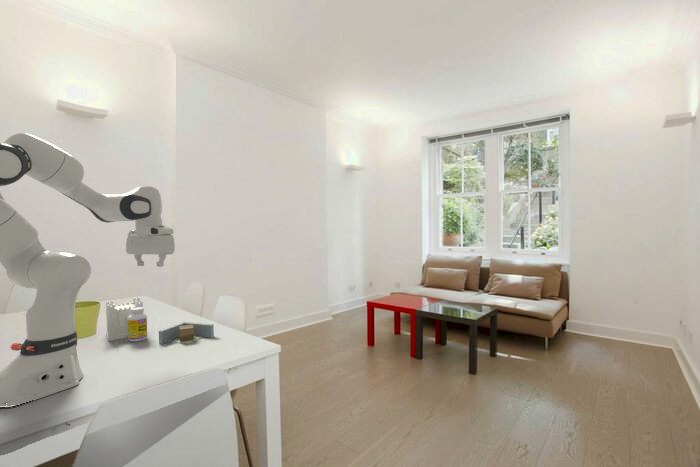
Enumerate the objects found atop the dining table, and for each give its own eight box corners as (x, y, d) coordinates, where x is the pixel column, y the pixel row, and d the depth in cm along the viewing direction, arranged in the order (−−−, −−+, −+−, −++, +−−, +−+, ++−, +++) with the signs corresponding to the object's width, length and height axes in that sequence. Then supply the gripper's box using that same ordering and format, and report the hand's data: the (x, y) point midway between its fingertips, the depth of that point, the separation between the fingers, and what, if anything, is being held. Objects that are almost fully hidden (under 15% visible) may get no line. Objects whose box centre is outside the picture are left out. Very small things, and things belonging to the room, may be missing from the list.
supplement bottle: (138, 342, 142) (137, 310, 142) (124, 341, 144) (123, 310, 143) (151, 337, 149) (150, 306, 149) (137, 336, 150) (136, 306, 150)
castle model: (107, 341, 145) (106, 305, 145) (106, 332, 157) (105, 299, 157) (144, 334, 153) (143, 301, 152) (140, 326, 165) (139, 295, 164)
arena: (189, 347, 136) (189, 334, 136) (158, 343, 141) (158, 330, 141) (213, 336, 149) (213, 324, 149) (184, 333, 154) (184, 321, 154)
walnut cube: (193, 339, 144) (193, 327, 144) (180, 341, 142) (179, 329, 141) (192, 336, 148) (192, 324, 148) (179, 338, 146) (179, 326, 146)
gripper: (120, 230, 135) (121, 266, 136) (163, 229, 129) (164, 267, 129) (135, 229, 141) (136, 264, 142) (177, 229, 135) (178, 265, 135)
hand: (150, 266), depth 135 cm, fingers open, 8 cm apart
